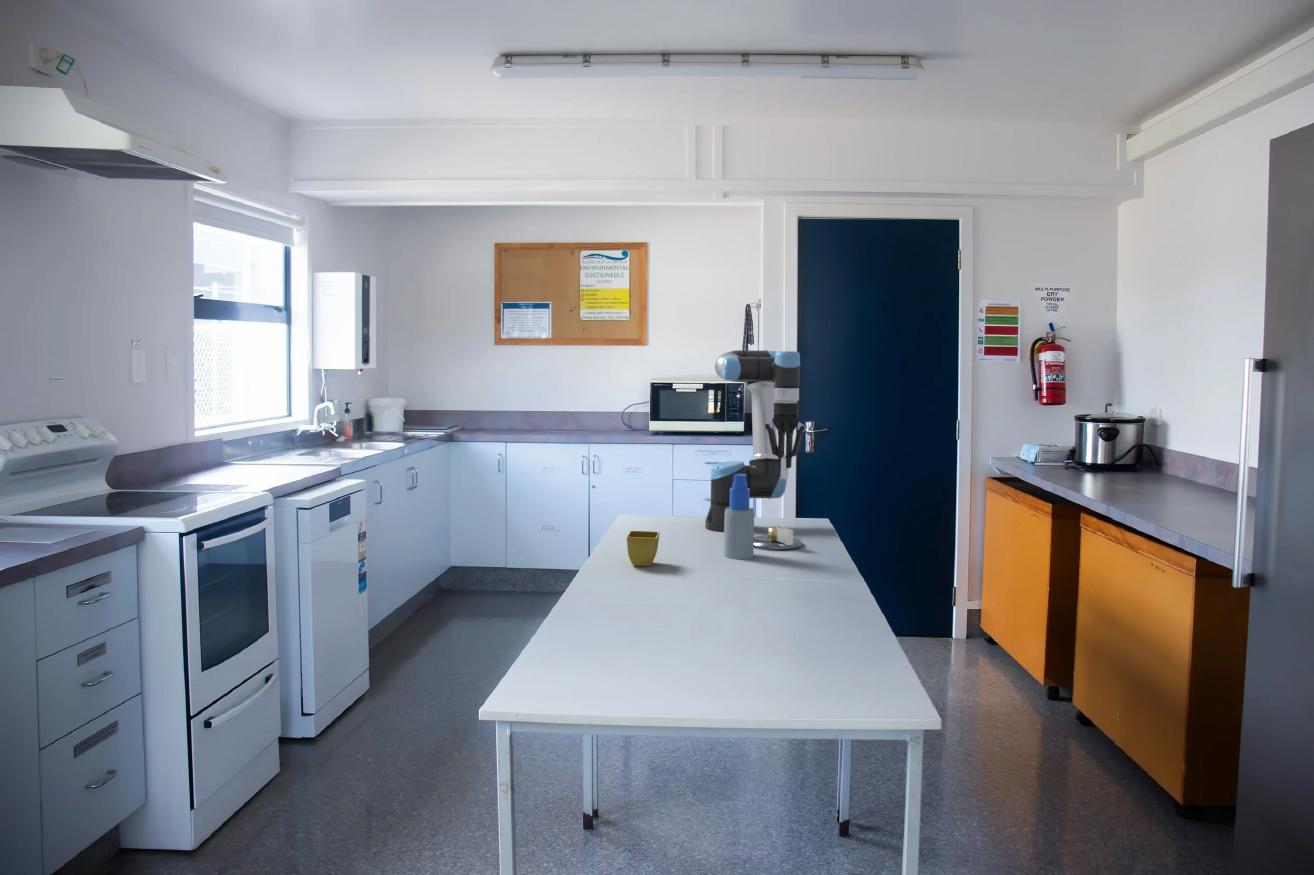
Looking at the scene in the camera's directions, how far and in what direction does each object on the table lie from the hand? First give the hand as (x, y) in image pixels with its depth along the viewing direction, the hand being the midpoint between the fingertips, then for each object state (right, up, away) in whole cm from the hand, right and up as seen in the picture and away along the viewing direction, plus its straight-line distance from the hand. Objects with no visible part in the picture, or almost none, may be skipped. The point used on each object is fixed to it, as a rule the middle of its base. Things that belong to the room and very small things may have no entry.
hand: (784, 478), depth 249 cm
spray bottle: (-14, -24, -3) cm, 28 cm away
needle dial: (0, -21, +9) cm, 23 cm away
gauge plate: (-1, -22, +12) cm, 25 cm away
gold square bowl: (-43, -25, -14) cm, 52 cm away
